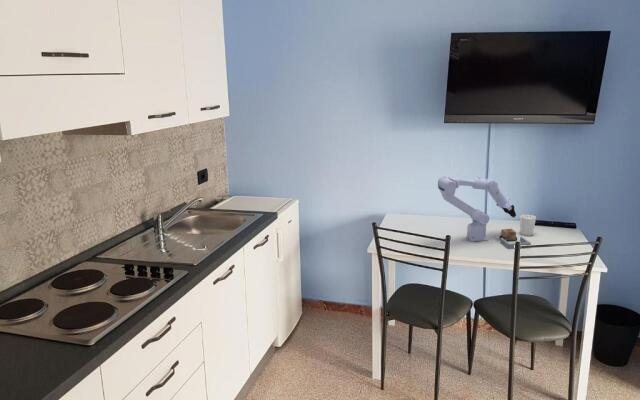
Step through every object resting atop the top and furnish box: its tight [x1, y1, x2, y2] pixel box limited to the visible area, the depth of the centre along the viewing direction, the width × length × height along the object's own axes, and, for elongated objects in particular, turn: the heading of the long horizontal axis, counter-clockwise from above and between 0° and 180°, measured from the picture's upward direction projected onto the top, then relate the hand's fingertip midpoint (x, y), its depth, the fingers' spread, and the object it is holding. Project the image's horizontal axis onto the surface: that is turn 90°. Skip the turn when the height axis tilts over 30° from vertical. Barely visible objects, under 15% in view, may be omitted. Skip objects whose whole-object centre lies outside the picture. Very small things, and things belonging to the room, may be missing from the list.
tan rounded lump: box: [498, 228, 518, 241], centre depth 268 cm, size 8×5×5 cm, turn 95°
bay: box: [499, 236, 532, 250], centre depth 260 cm, size 12×10×2 cm
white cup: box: [519, 214, 537, 236], centre depth 275 cm, size 8×8×10 cm
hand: (511, 213), depth 272 cm, fingers open, 7 cm apart
